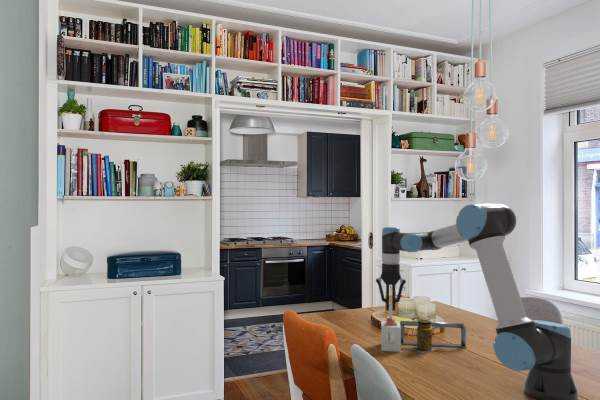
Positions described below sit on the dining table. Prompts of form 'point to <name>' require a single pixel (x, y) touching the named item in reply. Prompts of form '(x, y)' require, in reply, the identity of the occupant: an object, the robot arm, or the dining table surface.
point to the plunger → (390, 322)
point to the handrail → (436, 324)
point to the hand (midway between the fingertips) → (390, 318)
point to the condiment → (424, 337)
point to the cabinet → (390, 337)
